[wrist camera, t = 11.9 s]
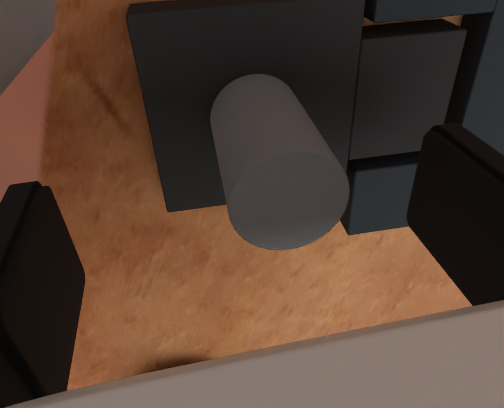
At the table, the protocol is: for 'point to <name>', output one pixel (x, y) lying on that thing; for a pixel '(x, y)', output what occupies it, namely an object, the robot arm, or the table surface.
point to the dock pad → (459, 111)
